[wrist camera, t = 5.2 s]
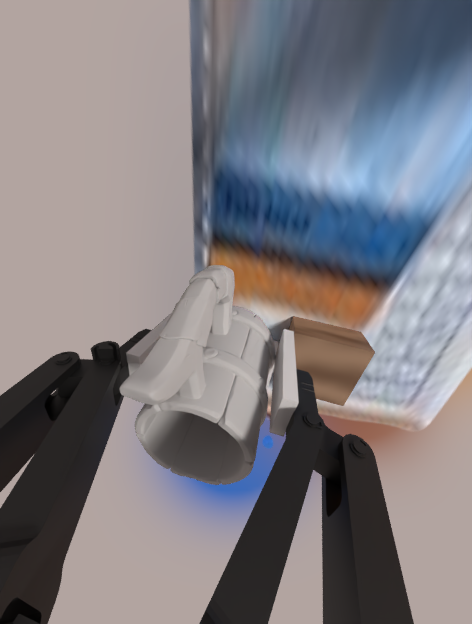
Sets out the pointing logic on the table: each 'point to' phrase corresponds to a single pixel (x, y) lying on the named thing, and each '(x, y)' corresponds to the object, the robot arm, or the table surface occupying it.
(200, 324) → the mug
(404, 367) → the table surface
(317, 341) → the walnut block
